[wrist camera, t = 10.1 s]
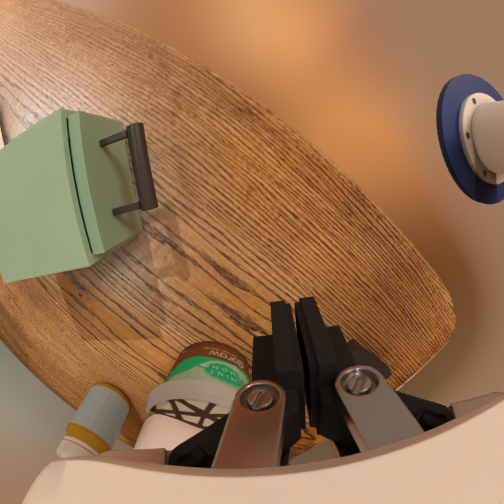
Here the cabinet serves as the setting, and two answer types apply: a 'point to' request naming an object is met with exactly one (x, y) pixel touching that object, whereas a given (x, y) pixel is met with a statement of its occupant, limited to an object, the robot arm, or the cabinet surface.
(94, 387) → the bottle
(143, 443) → the can
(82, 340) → the cabinet surface
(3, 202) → the green drawer box
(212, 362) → the food container
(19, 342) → the cabinet surface
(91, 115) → the green cabinet drawer
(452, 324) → the cabinet surface
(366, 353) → the block
